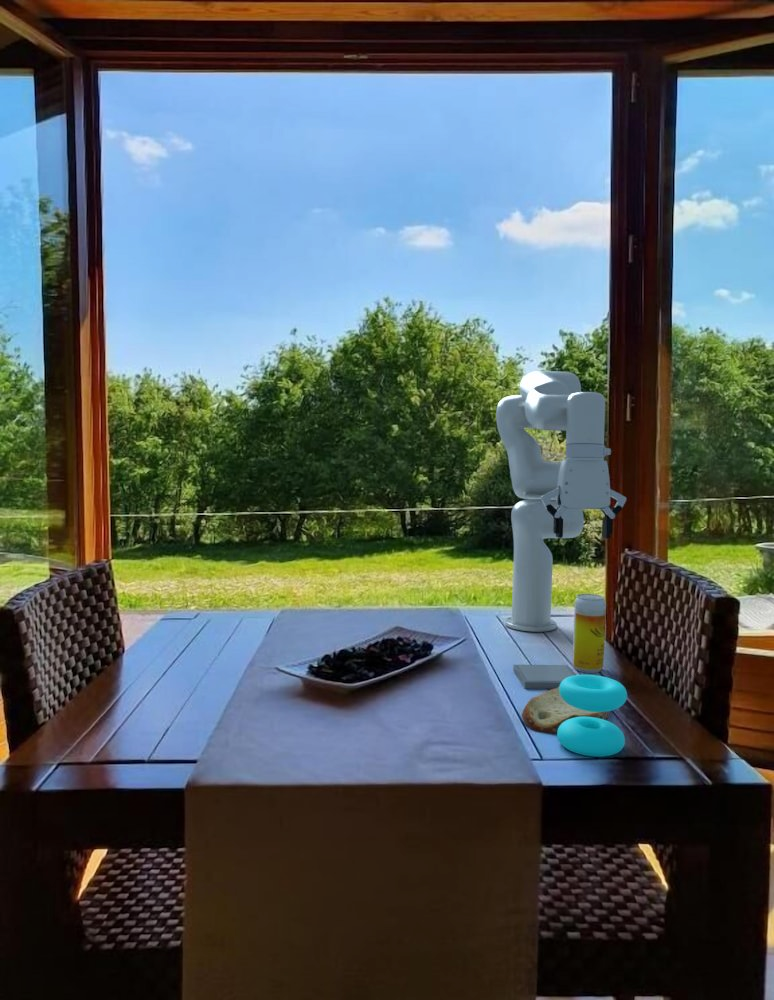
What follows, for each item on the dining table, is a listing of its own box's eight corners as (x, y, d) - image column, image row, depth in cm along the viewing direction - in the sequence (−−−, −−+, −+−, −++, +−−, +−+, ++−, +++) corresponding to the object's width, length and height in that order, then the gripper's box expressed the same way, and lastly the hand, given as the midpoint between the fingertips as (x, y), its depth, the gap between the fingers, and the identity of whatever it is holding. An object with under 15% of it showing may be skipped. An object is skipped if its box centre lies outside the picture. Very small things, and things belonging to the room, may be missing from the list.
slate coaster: (513, 670, 154) (513, 664, 154) (567, 671, 154) (567, 664, 154) (524, 688, 143) (524, 681, 143) (583, 689, 144) (583, 682, 143)
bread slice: (592, 695, 141) (593, 675, 141) (639, 733, 124) (640, 710, 123) (498, 699, 138) (499, 678, 138) (533, 738, 121) (534, 715, 120)
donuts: (641, 685, 115) (597, 697, 109) (638, 750, 116) (594, 765, 110) (589, 668, 123) (545, 678, 117) (586, 729, 124) (543, 742, 118)
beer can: (604, 674, 153) (607, 600, 151) (572, 672, 154) (575, 598, 153) (601, 666, 158) (605, 594, 157) (571, 663, 160) (574, 592, 158)
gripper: (620, 454, 160) (618, 536, 161) (538, 453, 160) (536, 535, 160) (633, 453, 152) (630, 539, 153) (546, 452, 152) (544, 538, 153)
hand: (582, 537), depth 157 cm, fingers open, 9 cm apart
